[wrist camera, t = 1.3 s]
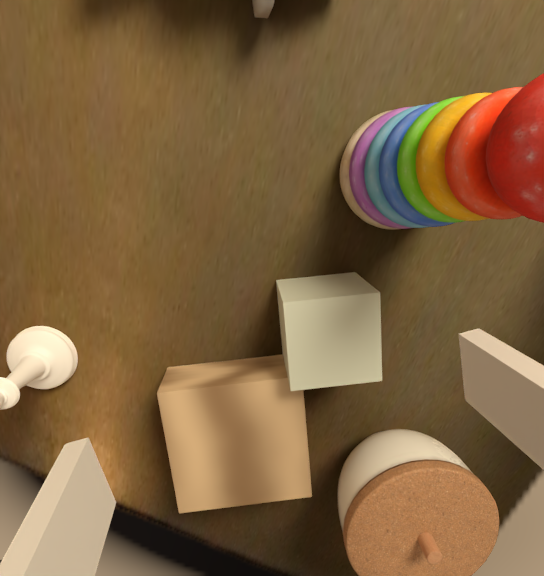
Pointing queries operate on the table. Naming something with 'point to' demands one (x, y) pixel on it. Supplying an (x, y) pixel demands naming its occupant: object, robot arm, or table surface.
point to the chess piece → (37, 362)
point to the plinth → (234, 433)
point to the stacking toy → (450, 161)
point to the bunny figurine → (262, 8)
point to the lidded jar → (413, 508)
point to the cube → (330, 330)
